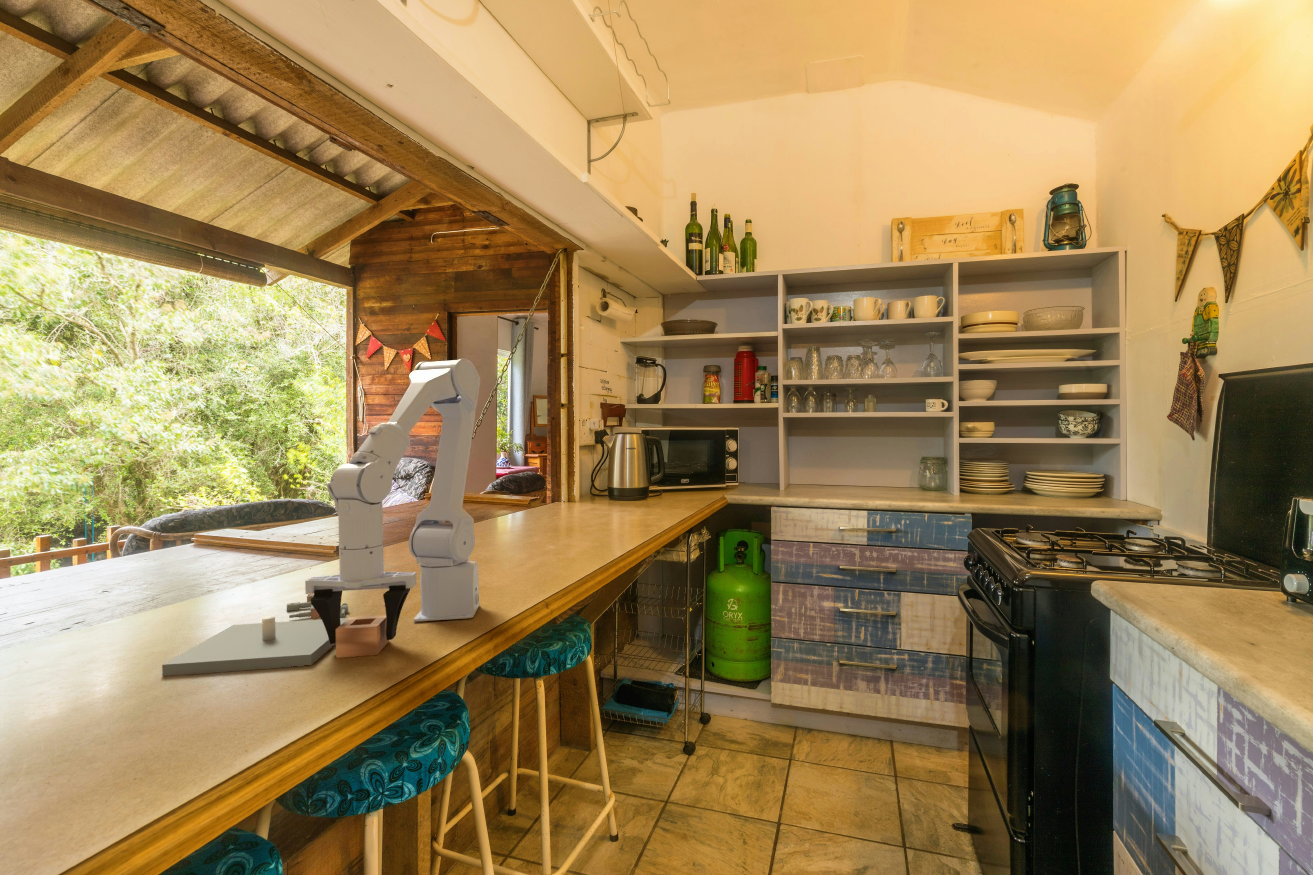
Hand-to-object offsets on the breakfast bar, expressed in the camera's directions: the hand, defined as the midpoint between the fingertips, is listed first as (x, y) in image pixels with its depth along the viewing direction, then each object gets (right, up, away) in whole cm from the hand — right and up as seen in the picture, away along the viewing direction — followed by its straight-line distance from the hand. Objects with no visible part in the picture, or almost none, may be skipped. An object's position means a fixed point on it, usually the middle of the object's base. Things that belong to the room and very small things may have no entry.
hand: (363, 639), depth 83 cm
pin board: (-14, -2, +1) cm, 14 cm away
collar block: (0, -1, 0) cm, 1 cm away
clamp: (-18, -2, +19) cm, 26 cm away
